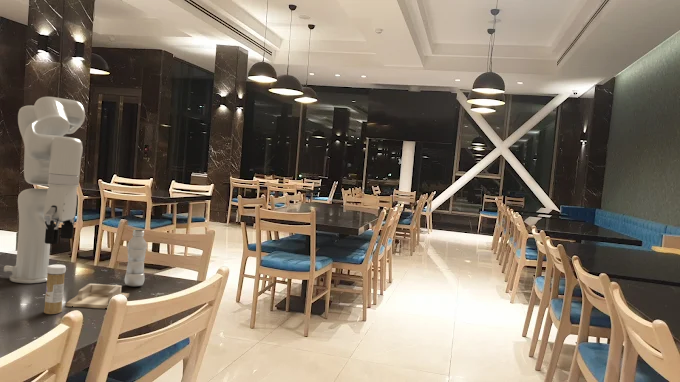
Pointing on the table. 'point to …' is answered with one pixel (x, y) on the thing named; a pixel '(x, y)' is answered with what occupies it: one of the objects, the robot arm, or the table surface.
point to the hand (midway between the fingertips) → (59, 240)
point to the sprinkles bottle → (54, 289)
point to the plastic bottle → (136, 259)
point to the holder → (95, 296)
